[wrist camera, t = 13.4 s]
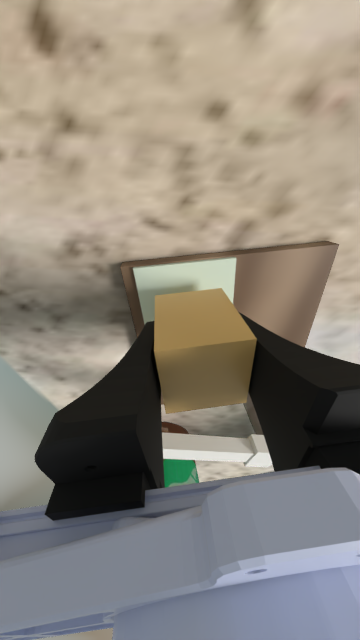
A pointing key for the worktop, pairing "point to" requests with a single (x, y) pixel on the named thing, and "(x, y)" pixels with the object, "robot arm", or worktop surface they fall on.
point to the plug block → (201, 350)
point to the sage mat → (183, 280)
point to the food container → (178, 463)
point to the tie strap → (217, 448)
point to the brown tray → (262, 290)
